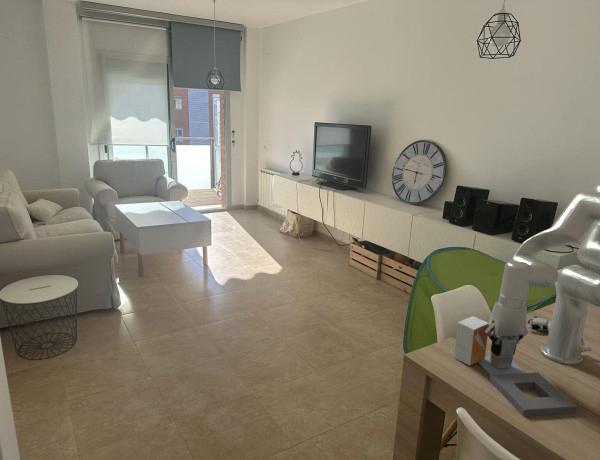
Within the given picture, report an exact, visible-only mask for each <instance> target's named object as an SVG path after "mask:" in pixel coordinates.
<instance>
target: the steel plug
mask: <svg viewBox="0 0 600 460" xmlns="http://www.w3.org/2000/svg"><path fill="white" fill-rule="evenodd" d="M496 338H497V336H496ZM499 344H500V350H499V355H498V356H495V355H494V354H493V353H492V352H491V351H490V355H491V357H490V361H491V362H492V363H493V364H494V365H495V366H496V367H497V368H498V369H500V368H511V365H512V361H513V359H514V356H515V354H514V350H515V345H516V339H515V338H514V337H513V336H502V338H501V340H500V342H499ZM516 346H517V345H516ZM515 351H516V350H515Z"/></svg>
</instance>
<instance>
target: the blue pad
mask: <svg viewBox="0 0 600 460" xmlns="http://www.w3.org/2000/svg"><path fill="white" fill-rule="evenodd" d="M490 357H491V354H490V355H489V354H488V355H486V354H485V358H484V359H482V360H480V361H478V362H477V363H478V364H479V365H480V366H481V367H482V368H483V370H484V371H485V372H486V373H488V375H489V376H490V375H497V374H517V373H527V372H526V371H525V370H524V369H523V368H521V367H520V366H519V365H518V364H517V363H516V362H515V361H513V360H512V365H511V368H500V369H498V368H497V367H496V366H495V365H494V364H493V363H492V362H491V361H490Z"/></svg>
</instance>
